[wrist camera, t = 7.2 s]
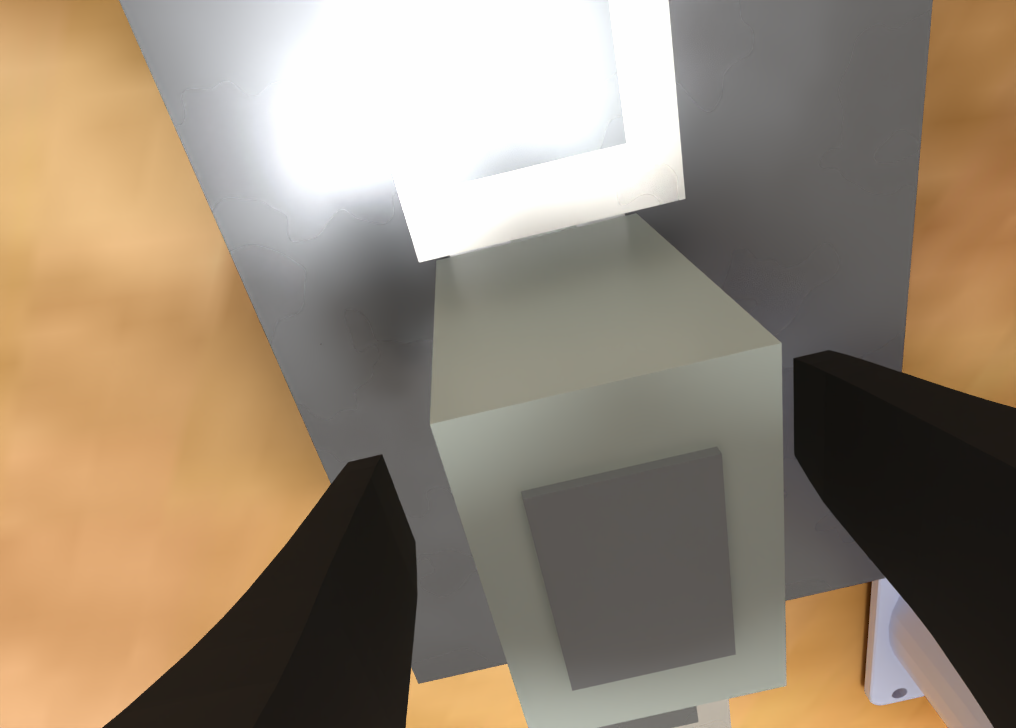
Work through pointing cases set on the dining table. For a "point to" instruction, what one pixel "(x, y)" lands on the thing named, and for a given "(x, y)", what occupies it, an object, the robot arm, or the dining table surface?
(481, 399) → the block
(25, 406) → the dining table surface
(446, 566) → the panel
